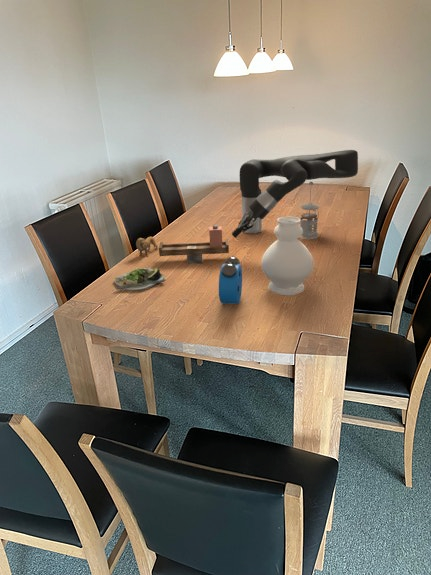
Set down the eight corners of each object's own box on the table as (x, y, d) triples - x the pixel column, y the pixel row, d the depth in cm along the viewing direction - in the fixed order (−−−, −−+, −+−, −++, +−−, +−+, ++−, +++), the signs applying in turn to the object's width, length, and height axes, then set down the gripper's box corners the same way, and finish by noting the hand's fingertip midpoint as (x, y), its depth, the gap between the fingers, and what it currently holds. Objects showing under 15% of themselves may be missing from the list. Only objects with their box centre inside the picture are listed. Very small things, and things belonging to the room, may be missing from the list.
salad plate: (128, 300, 151) (127, 288, 149) (102, 285, 163) (100, 273, 161) (172, 282, 163) (171, 271, 161) (145, 269, 175) (143, 259, 173)
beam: (228, 255, 184) (227, 239, 180) (229, 262, 177) (228, 244, 174) (162, 258, 184) (160, 242, 180) (160, 265, 177) (158, 248, 174)
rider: (222, 244, 180) (221, 223, 176) (222, 248, 176) (221, 227, 172) (209, 245, 180) (209, 224, 176) (210, 249, 176) (209, 227, 172)
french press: (293, 236, 203) (295, 182, 192) (306, 229, 210) (309, 177, 199) (311, 240, 196) (315, 185, 186) (324, 233, 204) (329, 180, 193)
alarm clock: (225, 292, 153) (224, 252, 146) (243, 293, 152) (242, 253, 145) (219, 310, 141) (217, 268, 135) (237, 311, 140) (237, 269, 134)
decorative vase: (300, 303, 144) (304, 231, 133) (252, 292, 152) (252, 223, 141) (319, 282, 157) (324, 215, 146) (274, 273, 166) (275, 209, 155)
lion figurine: (146, 260, 183) (144, 240, 179) (134, 259, 184) (132, 239, 180) (160, 248, 195) (158, 229, 191) (149, 247, 197) (147, 228, 193)
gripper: (272, 215, 166) (241, 247, 171) (268, 206, 178) (238, 236, 183) (258, 202, 164) (227, 235, 169) (255, 194, 175) (225, 224, 181)
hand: (233, 235), depth 176 cm, fingers closed
